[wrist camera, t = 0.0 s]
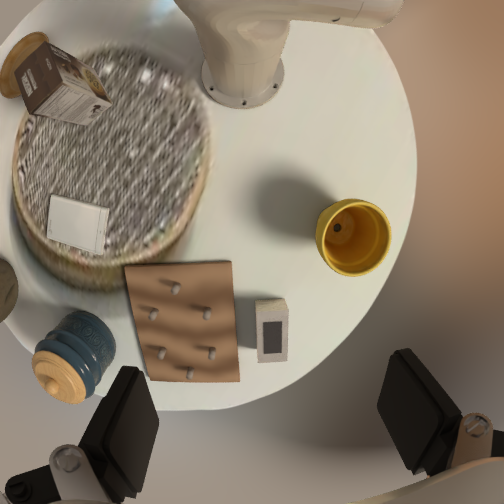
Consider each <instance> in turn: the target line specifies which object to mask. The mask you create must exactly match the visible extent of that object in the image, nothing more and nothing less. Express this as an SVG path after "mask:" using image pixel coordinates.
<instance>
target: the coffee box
mask: <svg viewBox="0 0 504 504" xmlns="http://www.w3.org/2000/svg"><path fill="white" fill-rule="evenodd" d="M14 75H15V78H16V80H17V83H18V86H19V89H20V92H21V94H22V97H23V100H24V102H25V105H26V107H27V110H28V112H29V114H32V115H37V116H42V117H47V118H53V119H58V120H62V121H67V122H71V123H76V124H80V125H85V126H87V125H88V124H89V123H90V122H92V121H93V120H94V119H95V118H96V117H98V116H99V115H100V114H101V113H103V112H104V111H105V110H106V109H108V108H109V107H110V106H112V104H113V103H112V101H111V99H110V97H109V95H108V93H107V92H106V90H105V88H104V86H103V84H102V82H101V81H100V79H99V77H98V75H97V73H96V71H95V69H94V68H92V67H90V66H88V65H87V64H85V63H83V62H82V61H80V60H78V59H77V58H75V57H73V56H71V55H70V54H68V53H66V52H64V51H63V50H61V49H59V48H57V47H55V46H54V45H52V44H50V43H48V42H46V41H44V42H43V43H42V44H41V45H40V46H39V47H38V48H37V49H36V50H35V51H34V52H32V53H31V54H30V55H29V56H28V57H27V58H26V59H25V60H24V61H23V62H22V63H21V64H20V65H19V67H18V68H17V69H16V70H15V71H14Z"/></svg>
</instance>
